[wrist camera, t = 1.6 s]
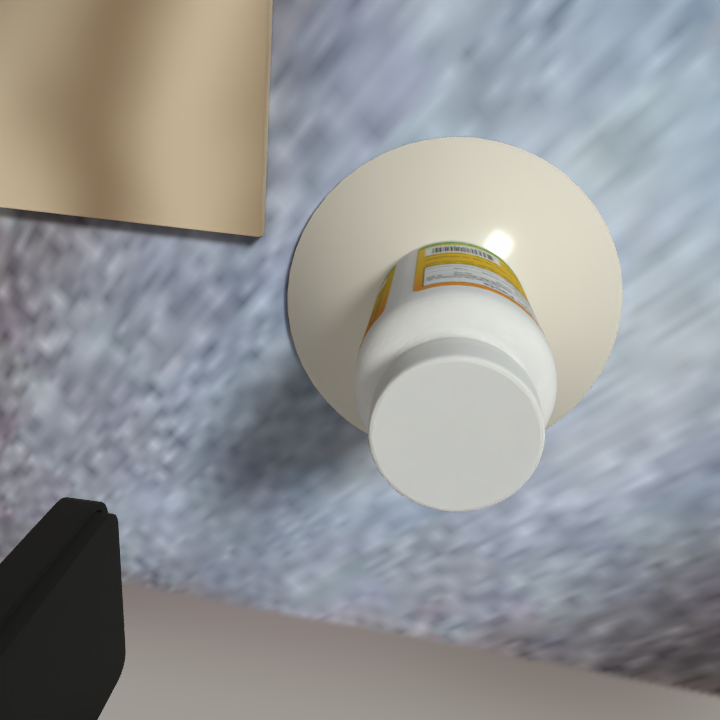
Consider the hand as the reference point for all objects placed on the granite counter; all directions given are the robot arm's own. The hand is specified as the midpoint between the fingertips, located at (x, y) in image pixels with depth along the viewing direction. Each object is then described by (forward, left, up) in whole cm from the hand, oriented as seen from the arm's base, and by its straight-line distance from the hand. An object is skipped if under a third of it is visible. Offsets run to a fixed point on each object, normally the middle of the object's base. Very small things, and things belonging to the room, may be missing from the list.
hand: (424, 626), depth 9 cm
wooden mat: (+11, -7, -16) cm, 21 cm away
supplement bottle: (-1, 0, -16) cm, 16 cm away
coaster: (-1, 0, -16) cm, 16 cm away
